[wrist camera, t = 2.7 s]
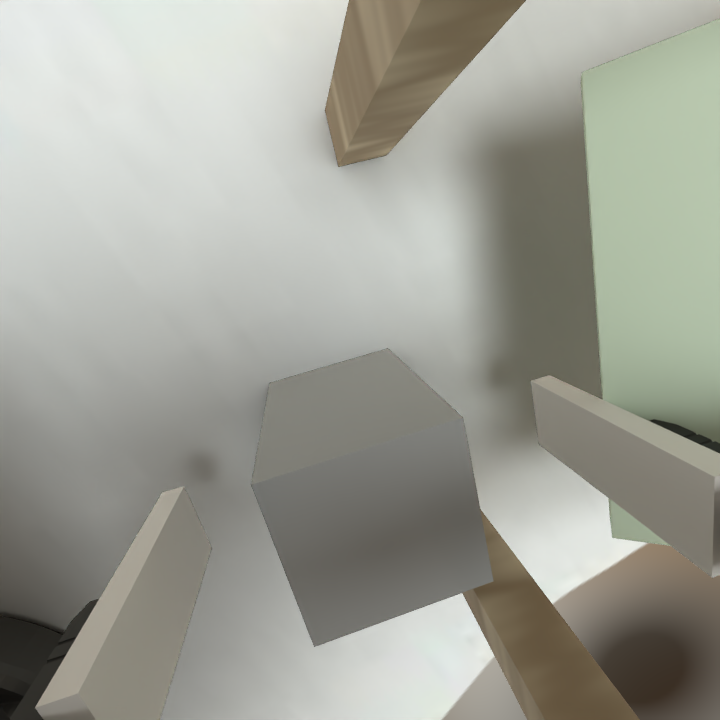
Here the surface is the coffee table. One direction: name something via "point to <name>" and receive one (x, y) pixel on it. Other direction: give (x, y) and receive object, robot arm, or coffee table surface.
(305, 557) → the grey rectangular block
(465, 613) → the coffee table surface
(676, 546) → the robot arm
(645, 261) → the trapdoor
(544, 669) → the frame
